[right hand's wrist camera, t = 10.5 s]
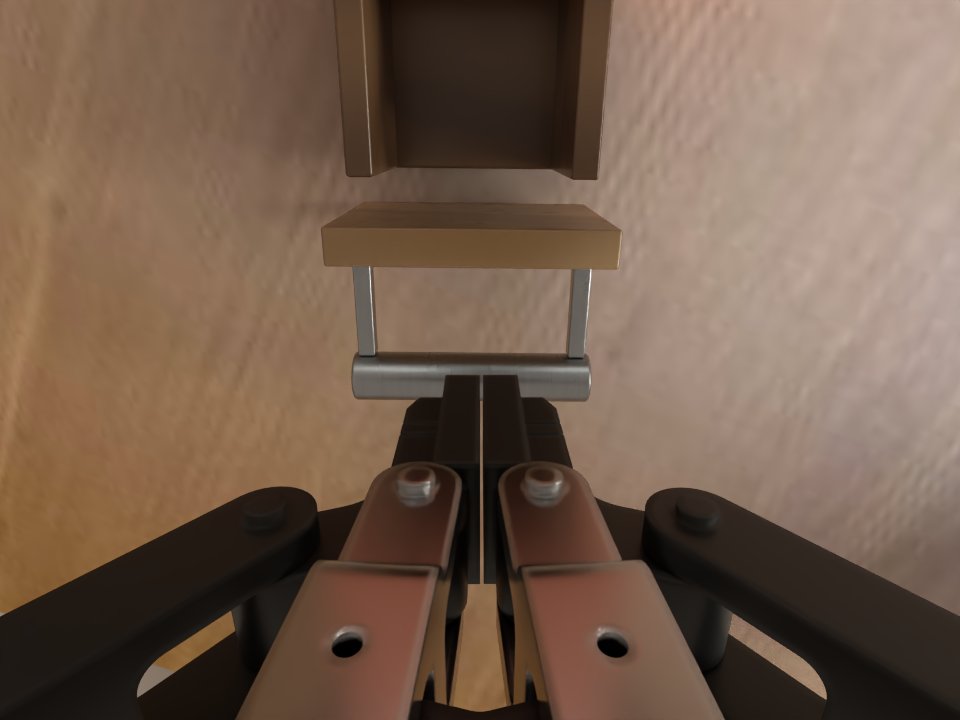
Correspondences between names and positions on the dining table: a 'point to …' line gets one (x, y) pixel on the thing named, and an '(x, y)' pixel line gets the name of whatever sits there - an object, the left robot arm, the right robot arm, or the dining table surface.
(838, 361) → the dining table surface
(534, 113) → the drawer
